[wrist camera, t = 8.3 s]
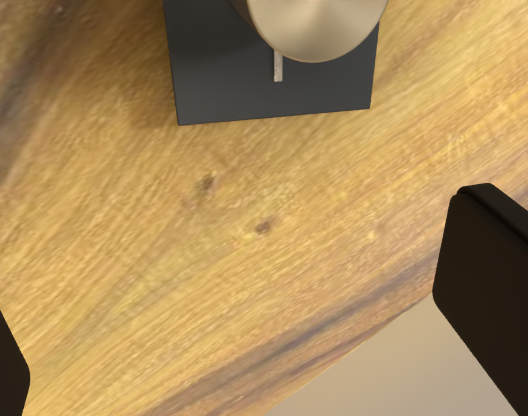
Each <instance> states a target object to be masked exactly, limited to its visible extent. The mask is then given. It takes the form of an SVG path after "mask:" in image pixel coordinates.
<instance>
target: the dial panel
mask: <svg viewBox="0 0 528 416" xmlns="http://www.w3.org/2000/svg"><path fill="white" fill-rule="evenodd" d="M163 8H164V16H165V24H166V32H167V40H168V49H169V57H170V65H171V73H172V81H173V89H174V98H175V106H176V114H177V122H178V125H179V126H182V125H193V124H205V123H216V122H227V121H239V120H250V119H261V118H273V117H284V116H295V115H306V114H318V113H329V112H340V111H352V110H363V109H370V103H371V94H372V85H373V76H374V67H375V58H376V49H377V40H378V31H379V22H380V20H379V22H378V23H377V25H376V26H375V28H374V29H373V30H372V32H371V33H370V34H369V35H368V37H367V38H366V39H365V40H364V41H362V42H361V43H360V44H359V45H358V46H357V47H355V48H354V49H353V50H351V51H350V52H348V53H346V54H345V55H342V56H340V57H338V58H336V59H332V60H329V61H324V62H318V63H308V62H300V61H296V60H293V59H290V58H288V57H285V56H283V55H282V54H280V53H278V52H277V51H275V50H274V49H273V48H272V47H271V46H269V45H268V44H267V43H266V42H265V41H264V40H263V38H262V37H261V36H260V35H259V34H258V33H257V32H256V31H255V30H254V29H253V28H252V27H251V26H250V25H249V24H248V23H247V22H246V21H245V20H244V19H243V18H242V17H241V16H240V15H239V14H238V12H237V11H236V10H235V9H234V7H233V6H232V4H231V3H230V1H229V0H163Z"/></svg>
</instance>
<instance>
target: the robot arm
mask: <svg viewBox="0 0 528 416" xmlns="http://www.w3.org/2000/svg"><path fill="white" fill-rule="evenodd" d="M432 294H433V299H434V301H435V304H436V305H437V307H438V308H439V310H440V311H441V312H442V314H443V315H444V316H445V318H446V319H447V320H448V322H449V323H450V324H451V326H452V327H453V328H454V330H455V331H456V332H457V334H458V335H459V336H460V338H461V339H462V340H463V342H464V343H465V344H466V346H467V347H468V348H469V349H470V351H471V352H472V354H473V355H474V356H475V358H476V359H477V360H478V362H479V363H480V364H481V366H482V367H483V368H484V370H485V371H486V372H487V374H488V375H489V376H490V378H491V379H492V380H493V382H494V383H495V385H496V386H497V387H498V389H499V390H500V391H501V392H502V394H503V395H504V396H505V398H506V399H507V400H508V402H509V403H510V404H511V406H512V407H513V408H514V410H515V411H516V412H517V414H518V415H519V416H528V211H527V210H526V209H524V208H523V207H522V206H520V205H519V204H518V203H517V202H515V201H514V200H513V199H511V198H510V197H509V196H507V195H506V194H505V193H503V192H502V191H501V190H499V189H498V188H497V187H495V186H494V185H492V184H490V183H483V184H476V185H470V186H463V187H461V188H460V189H459V190H458V191H457V194H456V195H454V196H452V198H451V200H450V203H449V208H448V213H447V218H446V223H445V228H444V233H443V238H442V243H441V248H440V253H439V258H438V263H437V268H436V274H435V279H434V284H433V289H432ZM29 386H30V371H29V368H28V365H27V363H26V361H25V359H24V357H23V355H22V353H21V351H20V349H19V347H18V345H17V343H16V341H15V339H14V337H13V335H12V333H11V331H10V329H9V327H8V325H7V323H6V321H5V319H4V317H3V315H2V313H1V311H0V416H22V412H23V409H24V405H25V401H26V397H27V394H28V390H29Z"/></svg>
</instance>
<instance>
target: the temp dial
mask: <svg viewBox="0 0 528 416" xmlns="http://www.w3.org/2000/svg"><path fill="white" fill-rule="evenodd" d="M229 1H230V3H231V4H232V6H233V7H234V9H235V10H236V11H237V12H238V14H239V15H240V16H241V17H242V18H243V19H244V20H245V21H246V22H247V23H248V24H249V25H250V26H251V27H252V28H253V29H254V30H255V31H256V32H257V33H258V34H259V35H260V36H261V37H262V38H263V40H264V41H265V42H266V43H267V44H268V45H269V46H271V47H272V48H273V49H274V50H275V51H277V52H278V53H280V54H282V55H283V56H285V57H288V58H290V59H293V60H296V61H300V62H308V63H318V62H324V61H329V60H332V59H336V58H338V57H340V56H342V55H345V54H346V53H348V52H350V51H351V50H353V49H354V48H355V47H357V46H358V45H359V44H360V43H361V42H362V41H364V40H365V39H366V38H367V37H368V35H369V34H370V33H371V32H372V30H373V29H374V28H375V26H376V25H377V23H378V22H379V20H380V18H381V16H382V14H383V12H384V10H385V7H386V5H387V2H388V0H229Z"/></svg>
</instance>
